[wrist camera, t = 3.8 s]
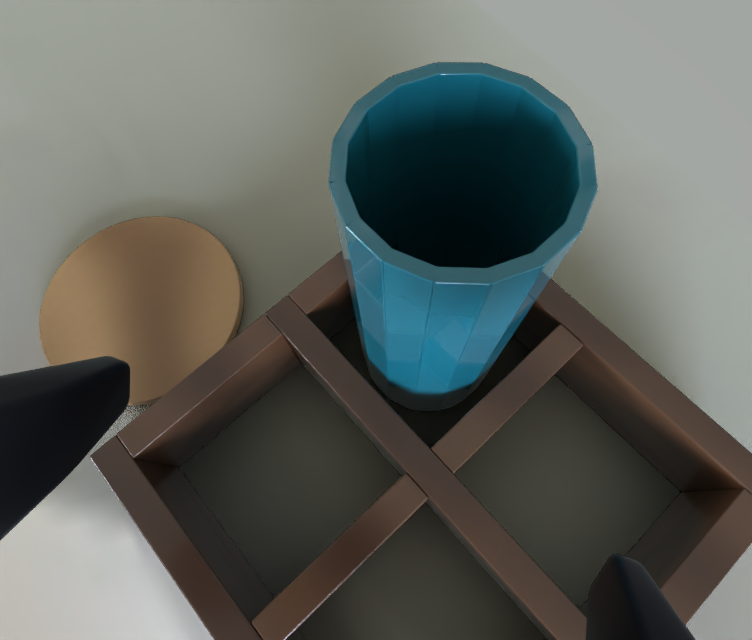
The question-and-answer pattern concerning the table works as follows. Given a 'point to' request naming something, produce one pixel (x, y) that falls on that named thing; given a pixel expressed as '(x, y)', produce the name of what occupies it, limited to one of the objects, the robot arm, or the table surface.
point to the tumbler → (453, 219)
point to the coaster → (144, 302)
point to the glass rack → (426, 465)
